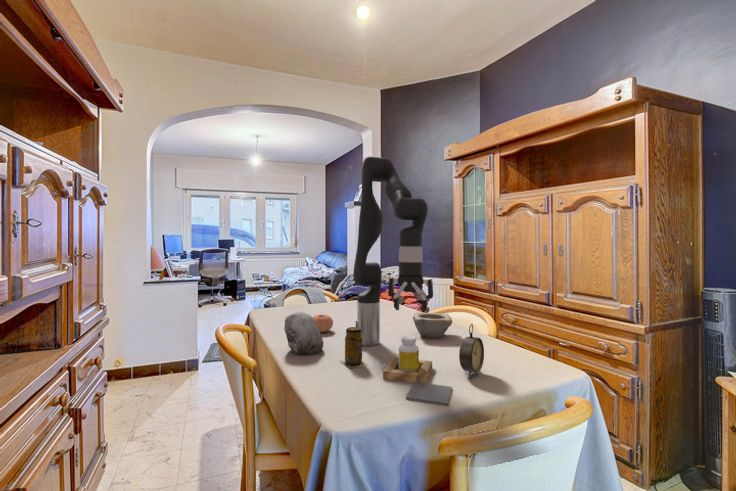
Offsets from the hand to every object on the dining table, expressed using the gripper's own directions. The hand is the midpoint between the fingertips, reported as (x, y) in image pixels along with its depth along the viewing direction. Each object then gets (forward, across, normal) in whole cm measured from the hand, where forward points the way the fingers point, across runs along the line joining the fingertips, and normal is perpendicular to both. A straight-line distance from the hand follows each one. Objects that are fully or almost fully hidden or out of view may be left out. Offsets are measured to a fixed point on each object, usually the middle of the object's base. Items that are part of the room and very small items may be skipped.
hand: (410, 310), depth 118 cm
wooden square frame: (+20, 0, 0) cm, 20 cm away
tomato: (+20, -50, +37) cm, 65 cm away
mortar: (+20, 0, +47) cm, 51 cm away
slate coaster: (+20, +8, -13) cm, 26 cm away
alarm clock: (+20, +19, +6) cm, 28 cm away
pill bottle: (+20, 0, 0) cm, 21 cm away
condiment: (+20, -20, +3) cm, 29 cm away
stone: (+20, -43, +9) cm, 49 cm away
